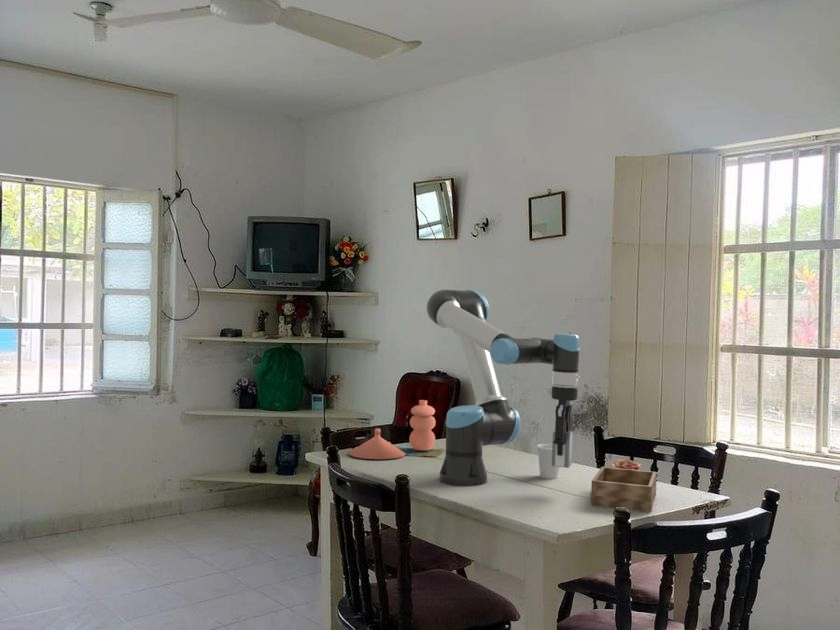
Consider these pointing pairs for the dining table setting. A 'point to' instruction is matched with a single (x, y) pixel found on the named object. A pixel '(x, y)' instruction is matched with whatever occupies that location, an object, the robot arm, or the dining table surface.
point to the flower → (626, 464)
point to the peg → (567, 449)
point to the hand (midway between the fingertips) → (561, 464)
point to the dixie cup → (546, 462)
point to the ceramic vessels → (418, 438)
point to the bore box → (624, 489)
